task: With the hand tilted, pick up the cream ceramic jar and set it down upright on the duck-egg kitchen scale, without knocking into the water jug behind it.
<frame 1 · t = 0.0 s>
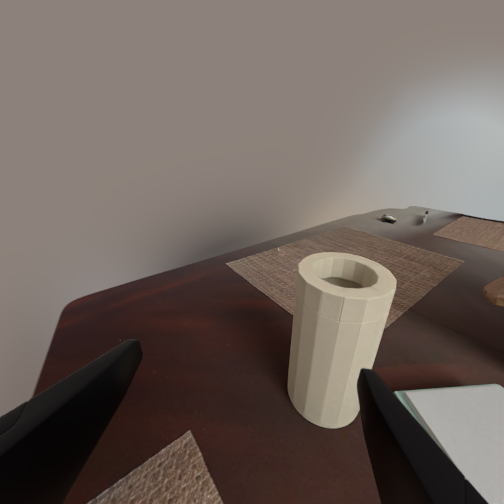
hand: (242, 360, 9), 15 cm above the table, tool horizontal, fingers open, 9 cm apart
knife: (423, 222, 75), on the table
scale: (487, 468, 18), on the table
toy car: (387, 222, 75), on the table
jar: (322, 391, 24), on the table
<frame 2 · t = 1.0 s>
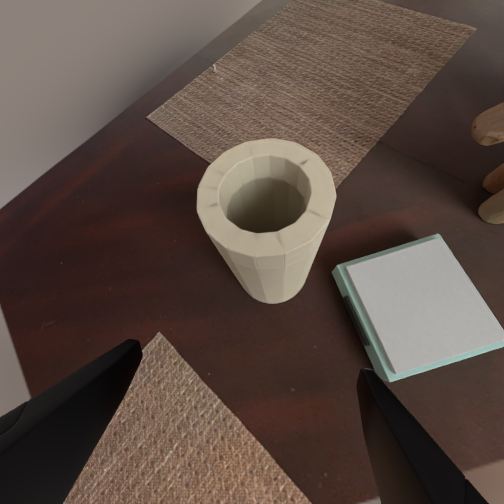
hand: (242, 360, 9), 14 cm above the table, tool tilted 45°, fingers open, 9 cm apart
scale: (403, 305, 22), on the table
jar: (272, 270, 25), on the table
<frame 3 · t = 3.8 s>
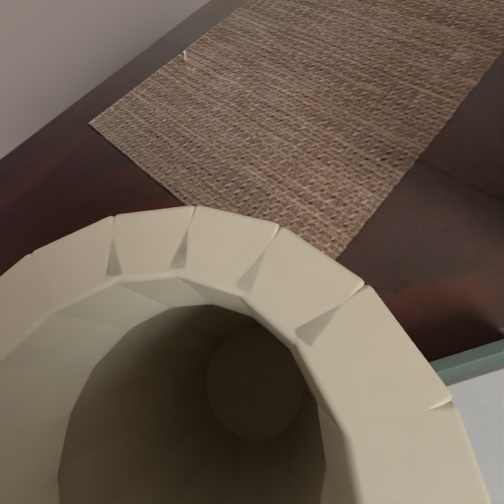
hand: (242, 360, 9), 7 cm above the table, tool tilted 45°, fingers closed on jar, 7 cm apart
scale: (483, 460, 13), on the table
jar: (255, 377, 15), on the table, touching gripper
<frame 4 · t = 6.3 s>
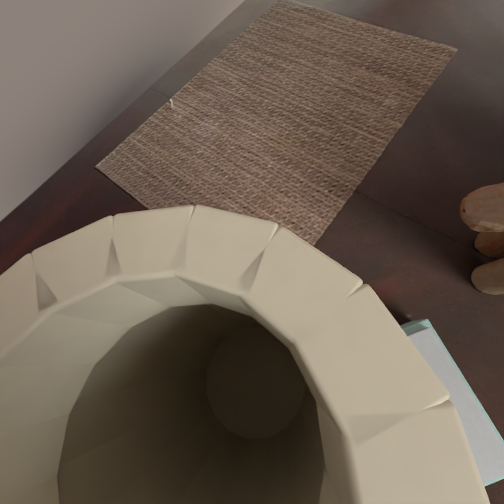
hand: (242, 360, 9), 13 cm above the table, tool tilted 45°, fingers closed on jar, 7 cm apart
scale: (390, 403, 19), on the table
figurine: (500, 274, 21), on the table
jar: (255, 377, 15), point 6 cm above the table, touching gripper
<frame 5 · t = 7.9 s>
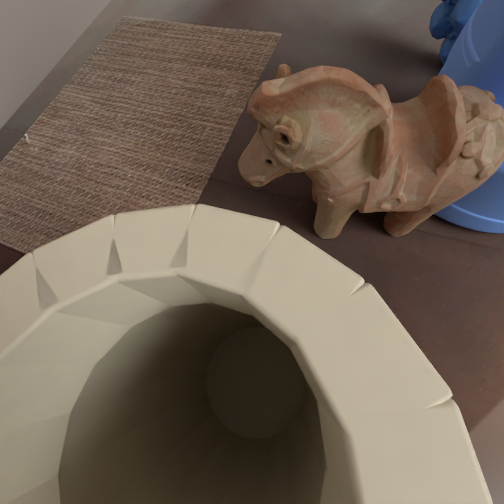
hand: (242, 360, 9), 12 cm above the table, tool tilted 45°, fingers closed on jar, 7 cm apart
figurine: (338, 218, 24), on the table
grapes: (440, 70, 29), on the table
jar: (255, 377, 15), point 5 cm above the table, touching gripper
water jug: (472, 167, 24), on the table
when the fingers open (10 cm above the table, at t = 9.1 s): jar stays where it is, resting on scale.
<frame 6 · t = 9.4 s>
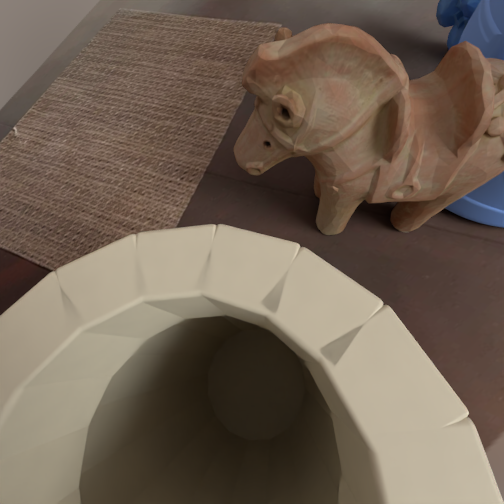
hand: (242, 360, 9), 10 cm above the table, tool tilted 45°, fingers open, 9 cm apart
figurine: (342, 213, 22), on the table
grapes: (448, 60, 28), on the table
jar: (256, 379, 15), point 3 cm above the table, touching gripper, scale
water jug: (484, 160, 23), on the table
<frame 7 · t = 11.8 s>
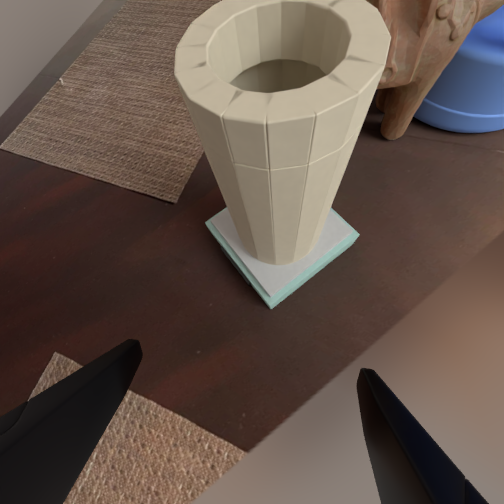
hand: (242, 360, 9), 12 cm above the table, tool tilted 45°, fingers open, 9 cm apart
scale: (278, 238, 24), on the table
figurine: (342, 131, 28), on the table
jar: (278, 227, 21), point 3 cm above the table, touching scale
water jug: (457, 88, 28), on the table
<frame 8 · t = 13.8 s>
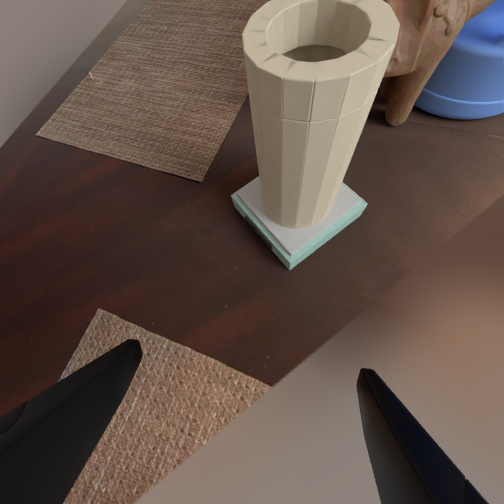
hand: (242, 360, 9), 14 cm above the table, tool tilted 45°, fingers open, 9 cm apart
scale: (294, 211, 27), on the table
figurine: (350, 119, 31), on the table
jar: (297, 197, 24), point 3 cm above the table, touching scale
water jug: (454, 81, 31), on the table
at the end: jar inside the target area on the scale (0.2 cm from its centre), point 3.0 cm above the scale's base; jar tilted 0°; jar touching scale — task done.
